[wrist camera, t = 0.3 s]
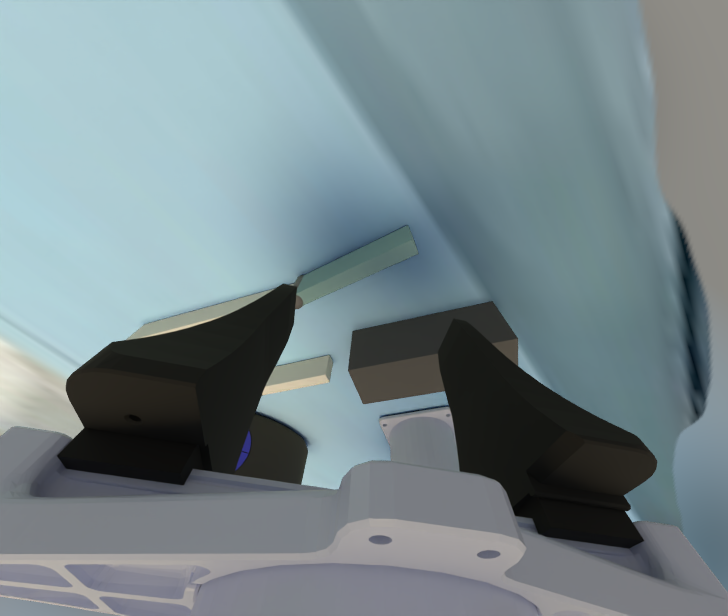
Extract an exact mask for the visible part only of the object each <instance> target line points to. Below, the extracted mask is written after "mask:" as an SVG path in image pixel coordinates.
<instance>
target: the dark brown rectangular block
mask: <svg viewBox="0 0 728 616" xmlns="http://www.w3.org/2000/svg"><path fill="white" fill-rule="evenodd" d="M453 318H454V319H459V320H464V321H467V322H468V323H470V324H471V325H472V326H473V327H474V328H475V329H477V330H478V331H479V332H480V333H481V334H482V335H483V336H484V337H485V338H486V339H487V340H488V341H490V342H491V343H492V344H493V345H494V346H495V347H496V348H497V349H498V350H499V351H501V352H502V353H503V354H504V355H505V356H506V357H507V358H509V359H510V360H511V361H512V362H513V363H515V364H516V365H517V366H518V338H517V337H516V335H515V334H514V332H513V331H512V329H511V328H510V326H509V325H508V323H507V322H506V320H505V319H504V317H503V316H502V314H501V313H500V312H499V310H498V309H497V307H496V306H495V304H494V303H493V301H491V302H487V303H482V304H477V305H473V306H468V307H463V308H459V309H454V310H449V311H445V312H440V313H435V314H431V315H426V316H421V317H416V318H412V319H407V320H402V321H398V322H393V323H388V324H384V325H379V326H374V327H370V328H365V329H360V330H356V331H353V332H352V341H351V350H350V358H349V367H348V371H349V374H350V376H351V378H352V380H353V382H354V385H355V387H356V389H357V391H358V394H359V396H360V398H361V400H362V403H363V404H368V403H374V402H380V401H387V400H393V399H399V398H405V397H411V396H417V395H424V394H430V393H436V392H442V391H445V389H444V385H443V381H442V377H441V373H440V368H439V359H438V350H439V348H440V346H441V344H442V342H443V339H444V337H445V335H446V333H447V331H448V329H449V327H450V325H451V323H452V320H453Z"/></svg>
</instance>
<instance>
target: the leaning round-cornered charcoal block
mask: <svg viewBox="0 0 728 616" xmlns="http://www.w3.org/2000/svg"><path fill="white" fill-rule="evenodd" d="M307 454H308V449H307V446H306V443H305V442H304V440H303V439H302V438H301V437H300V436H299V435H298V434H296V433H295V432H293V431H292V430H290V429H289V428H287V427H285V426H283V425H282V424H280V423H278V422H275V421H273V420H271V419H268V418H266V417H263V416H260V415H257V414H255V415H254V417H253V420H252V423H251V426H250V428H249V431H248V434H247V437H246V440H245V443H244V446H243V449H242V452H241V454H240V457H239V460H238V463H237V466H236V470H235V473H234V475H239V476H245V477H252V478H259V479H266V480H273V481H280V482H286V483H293V484H300V485H301V483H302V478H303V473H304V469H305V464H306V459H307Z"/></svg>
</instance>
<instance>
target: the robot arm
mask: <svg viewBox="0 0 728 616" xmlns="http://www.w3.org/2000/svg"><path fill="white" fill-rule="evenodd" d="M296 294H297V286H292V285H287V284H282V285H280V286H279V287H277V288H275V289H274V290H272V291H271V292H269V293H267V294H266V295H264V296H262V297H261V298H259V299H257V300H255V301H254V302H252V303H250V304H248V305H246V306H244V307H242V308H240V309H238V310H236V311H234V312H232V313H229V314H227V315H225V316H222V317H219V318H217V319H214V320H211V321H208V322H205V323H202V324H199V325H195V326H192V327H189V328H185V329H181V330H177V331H173V332H169V333H164V334H160V335H155V336H149V337H143V338H137V339H130V340H124V341H117V342H112V343H110V344H109V345H108V346H106V347H105V348H104V349H103V350H101V351H100V352H99V353H98V354H96V355H95V356H94V357H93V358H91V359H90V360H89V361H87V362H86V363H85V364H84V365H82V366H81V367H80V368H79V369H77V370H76V371H75V372H73V373H72V374H71V376H70V377H69V378H68V379H67V382H66V392H67V395H68V398H69V400H70V402H71V404H72V406H73V407H74V409H75V411H76V413H77V415H78V417H79V418H80V420H81V422H82V424H83V426H84V427H85V428H84V429H83V430H82V431H81V432H80V433H79V434H78V435H77V436H76V437H75V438H74V439H72V438H71V437H69V436H67V435H65V434H62V433H59V432H54V431H47V430H40V429H34V428H27V427H21V426H15V427H11V428H10V429H9V430H8V431H6V432H5V433H4V434H3V435H1V436H0V597H7V598H14V599H22V600H30V601H35V602H42V603H49V604H54V605H61V606H67V607H73V608H79V609H85V610H91V611H96V612H102V613H108V614H114V615H120V616H728V592H727V591H726V590H725V588H724V587H723V586H722V585H721V583H720V582H719V581H718V579H717V578H716V577H715V575H714V574H713V573H712V571H711V570H710V569H709V567H708V566H707V565H706V563H705V562H704V561H703V560H702V558H701V557H700V556H699V555H698V553H697V552H696V550H695V549H694V548H693V546H692V545H691V544H690V543H689V541H688V540H687V539H686V537H685V536H684V535H683V533H682V532H681V531H680V529H679V528H678V527H676V526H674V525H669V524H662V523H655V522H649V521H637V522H633V523H632V521H631V520H630V518H629V517H628V515H627V514H626V512H625V511H629V510H630V509H631V506H630V504H629V503H628V502H627V500H626V499H625V497H624V496H623V495H625V494H626V493H628V492H629V491H631V490H633V489H634V488H636V487H637V486H639V485H640V484H642V483H643V482H645V481H646V480H647V479H648V478H650V477H651V476H652V475H653V473H654V472H655V470H656V467H657V460H656V458H655V456H654V455H653V454H652V453H651V451H650V450H649V449H648V448H647V447H646V446H645V444H644V443H643V442H642V441H641V440H640V439H639V438H638V437H637V436H636V435H634V434H632V433H630V432H628V431H626V430H624V429H622V428H619V427H617V426H615V425H613V424H611V423H609V422H607V421H605V420H603V419H601V418H599V417H597V416H595V415H593V414H591V413H589V412H588V411H586V410H584V409H582V408H580V407H578V406H577V405H575V404H573V403H571V402H570V401H568V400H566V399H565V398H563V397H561V396H560V395H558V394H557V393H555V392H554V391H552V390H550V389H549V388H547V387H546V386H544V385H543V384H541V383H540V382H538V381H537V380H536V379H534V378H533V377H532V376H530V375H529V374H527V373H526V372H525V371H523V370H522V369H521V368H520V367H518V366H517V365H516V364H515V363H513V362H512V361H511V360H510V359H509V358H507V357H506V356H505V355H504V354H503V353H502V352H501V351H499V350H498V349H497V348H496V347H495V346H494V345H493V344H492V343H491V342H490V341H488V340H487V339H486V338H485V337H484V336H483V335H482V334H481V333H480V332H479V331H478V330H477V329H475V328H474V327H473V326H472V325H471V324H470V323H468V322H467V321H464V320H459V319H454V318H453V320H452V323H451V325H450V327H449V329H448V331H447V333H446V335H445V337H444V339H443V342H442V344H441V346H440V348H439V350H438V359H439V368H440V373H441V377H442V381H443V385H444V389H445V393H446V396H447V400H448V404H449V407H442V408H436V409H429V410H423V411H417V412H411V413H405V414H398V415H392V416H386V417H381V418H380V419H379V423H380V425H381V428H382V430H383V432H384V434H385V436H386V439H387V441H388V443H389V445H390V453H391V461H375V460H371V461H368V462H365V463H362V464H359V465H355V466H354V467H353V468H351V469H350V470H349V472H348V473H347V474H346V475H345V476H344V477H343V478H342V481H341V484H340V487H339V489H335V490H334V489H327V488H320V487H314V486H307V485H300V484H293V483H286V482H280V481H273V480H266V479H259V478H252V477H245V476H239V475H234V473H235V470H236V466H237V463H238V460H239V457H240V454H241V452H242V449H243V446H244V443H245V440H246V437H247V434H248V431H249V428H250V426H251V423H252V420H253V417H254V415H255V412H256V409H257V406H258V404H259V401H260V399H261V396H262V393H263V391H264V388H265V386H266V384H267V382H268V380H269V378H270V376H271V374H272V372H273V370H274V368H275V366H276V364H277V362H278V360H279V358H280V356H281V354H282V352H283V350H284V348H285V346H286V344H287V342H288V339H289V336H290V333H291V330H292V327H293V324H294V315H295V304H296Z"/></svg>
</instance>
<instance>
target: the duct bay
mask: <svg viewBox="0 0 728 616" xmlns="http://www.w3.org/2000/svg"><path fill="white" fill-rule="evenodd" d="M290 285H292V286H293V285H294V283H293V284H290ZM272 290H274V289H272ZM272 290H268V291H264V292H261V293H257V294H253V295H250V296H246V297H242V298H239V299H235V300H231V301H228V302H224V303H221V304H217V305H213V306H210V307H206V308H202V309H199V310H195V311H191V312H188V313H184V314H180V315H177V316H173V317H169V318H166V319H162V320H159V321H155V322H151V323H148V324H144V325H143V326H142V327H141V328H139V329H138V330H137V331H136V332H135V333H133V334H132V335H131V336H130V337H129V338H127V339H126V340H130V339H137V338H143V337H149V336H155V335H160V334H164V333H169V332H173V331H177V330H181V329H185V328H189V327H192V326H195V325H199V324H202V323H205V322H208V321H211V320H214V319H217V318H219V317H222V316H225V315H227V314H229V313H232V312H234V311H236V310H238V309H240V308H242V307H244V306H246V305H248V304H250V303H252V302H254V301H255V300H257V299H259V298H261V297H262V296H264V295H266V294H267V293H269V292H271V291H272ZM332 366H333V361H332V359H331V357H330V355H328V356H323V357H318V358H314V359H309V360H304V361H300V362H295V363H290V364H286V365H281V366H276V367H275V368H274V370H273V372H272V374H271V376H270V378H269V380H268V382H267V384H266V386H265V388H264V391H263V393H262V395H266V394H272V393H277V392H282V391H287V390H292V389H297V388H303V387H308V386H313V385H318V384H323V383H328V382H330V377H331V372H332Z"/></svg>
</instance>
